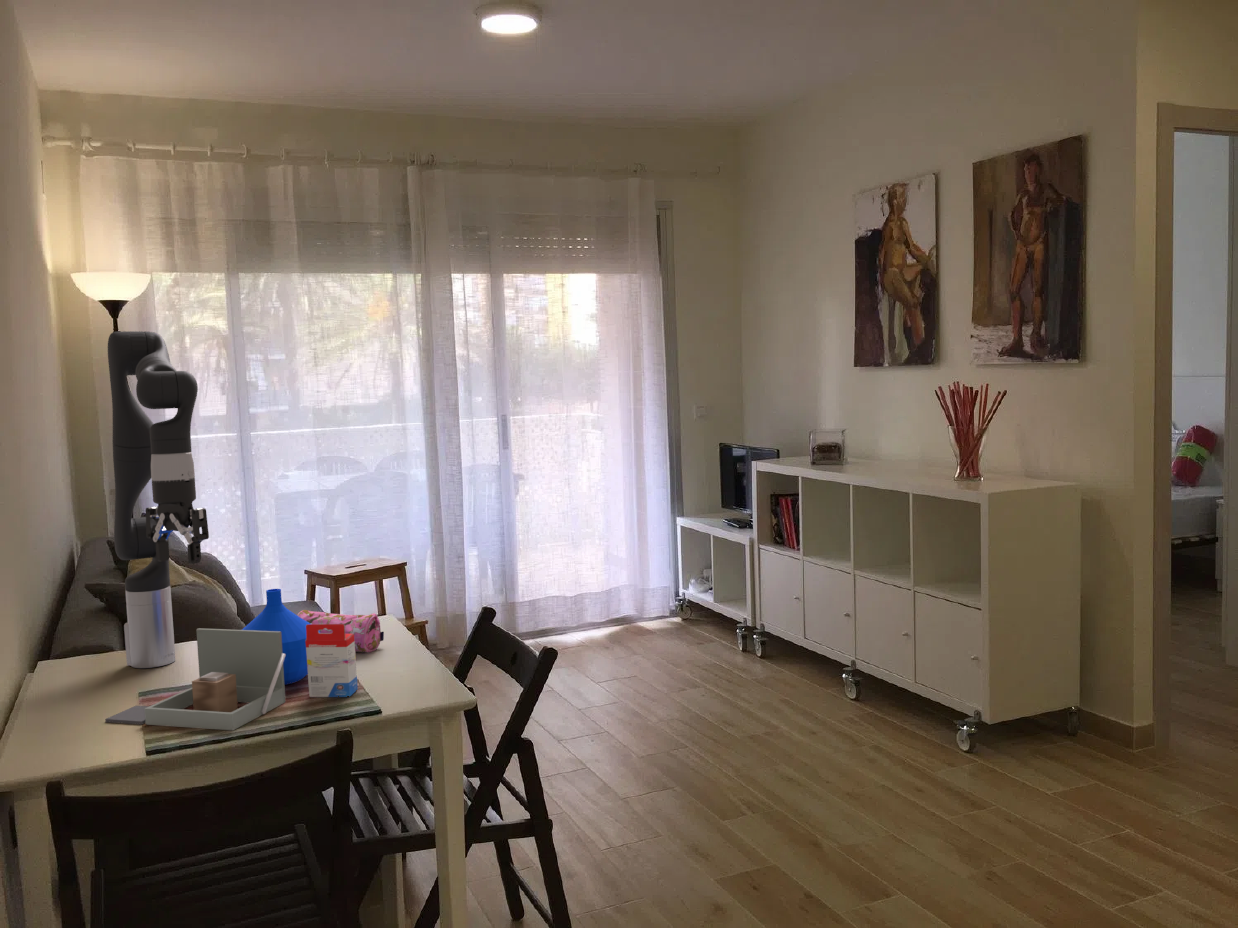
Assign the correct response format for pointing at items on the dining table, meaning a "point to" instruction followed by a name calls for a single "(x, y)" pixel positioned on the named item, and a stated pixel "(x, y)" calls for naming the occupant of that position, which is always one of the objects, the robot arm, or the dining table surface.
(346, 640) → the ink box
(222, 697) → the module
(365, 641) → the pencil case
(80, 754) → the dining table surface
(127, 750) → the dining table surface
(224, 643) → the case
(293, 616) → the blue funnel
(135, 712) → the mat
